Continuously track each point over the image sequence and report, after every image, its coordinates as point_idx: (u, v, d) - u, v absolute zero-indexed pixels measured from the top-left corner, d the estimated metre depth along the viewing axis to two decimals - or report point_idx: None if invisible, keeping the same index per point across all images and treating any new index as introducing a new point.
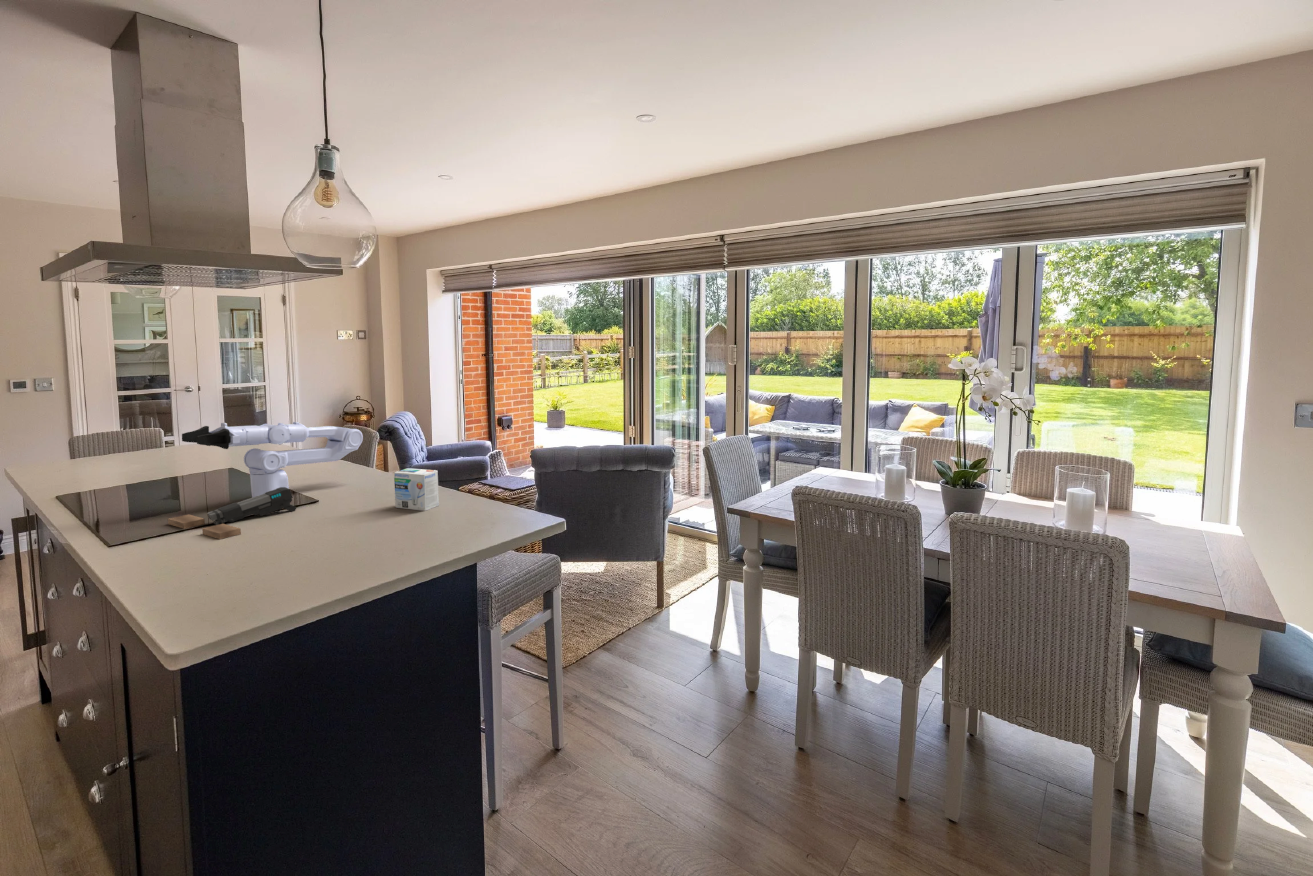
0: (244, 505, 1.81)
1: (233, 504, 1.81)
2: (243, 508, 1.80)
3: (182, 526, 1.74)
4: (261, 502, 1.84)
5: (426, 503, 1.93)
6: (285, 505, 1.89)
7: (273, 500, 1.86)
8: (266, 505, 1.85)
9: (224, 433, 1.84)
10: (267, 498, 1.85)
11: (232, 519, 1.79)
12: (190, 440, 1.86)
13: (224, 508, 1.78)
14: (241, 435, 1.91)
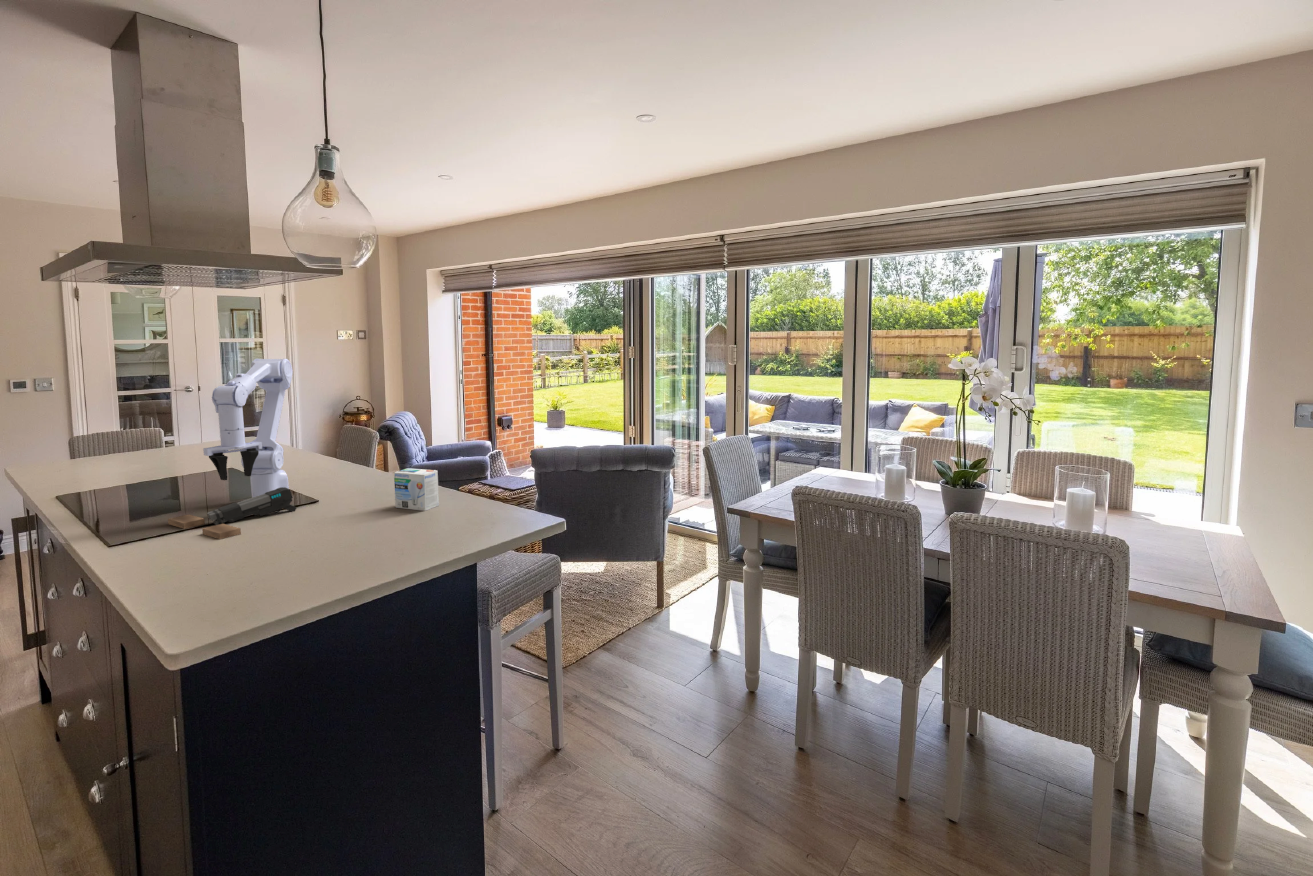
0: (244, 505, 1.81)
1: (233, 504, 1.81)
2: (243, 508, 1.80)
3: (182, 526, 1.74)
4: (261, 502, 1.83)
5: (426, 503, 1.93)
6: (285, 505, 1.89)
7: (273, 500, 1.86)
8: (266, 505, 1.85)
9: None
10: (267, 498, 1.84)
11: (232, 519, 1.79)
12: None
13: (224, 508, 1.78)
14: None
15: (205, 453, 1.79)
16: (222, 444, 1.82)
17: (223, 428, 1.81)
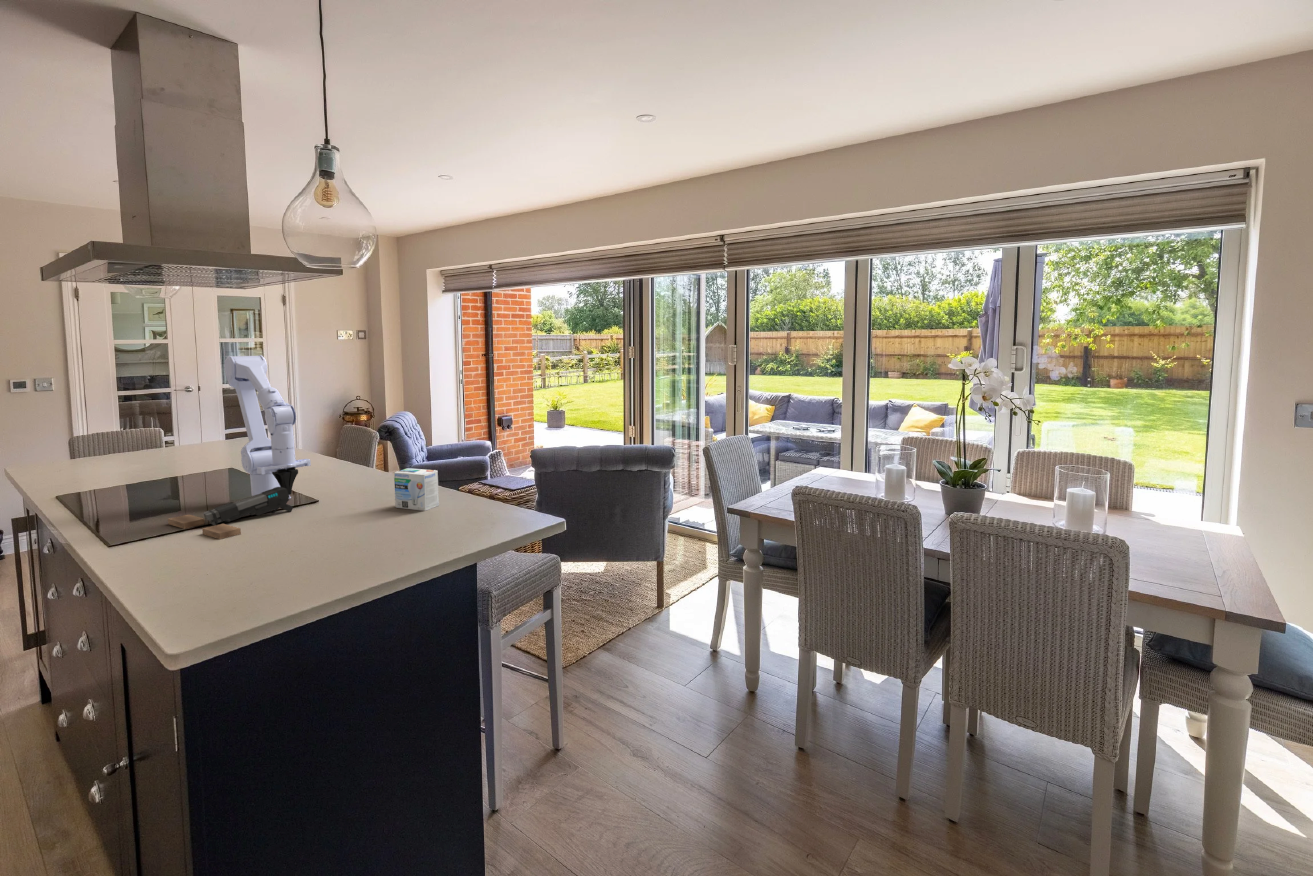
0: (241, 505, 1.80)
1: (229, 504, 1.80)
2: (240, 508, 1.80)
3: (182, 526, 1.74)
4: (258, 502, 1.83)
5: (426, 503, 1.93)
6: (282, 505, 1.88)
7: (270, 500, 1.85)
8: (263, 505, 1.85)
9: None
10: (264, 498, 1.84)
11: (228, 519, 1.78)
12: None
13: (220, 508, 1.78)
14: None
15: (259, 472, 1.85)
16: (274, 462, 1.88)
17: (284, 447, 1.88)
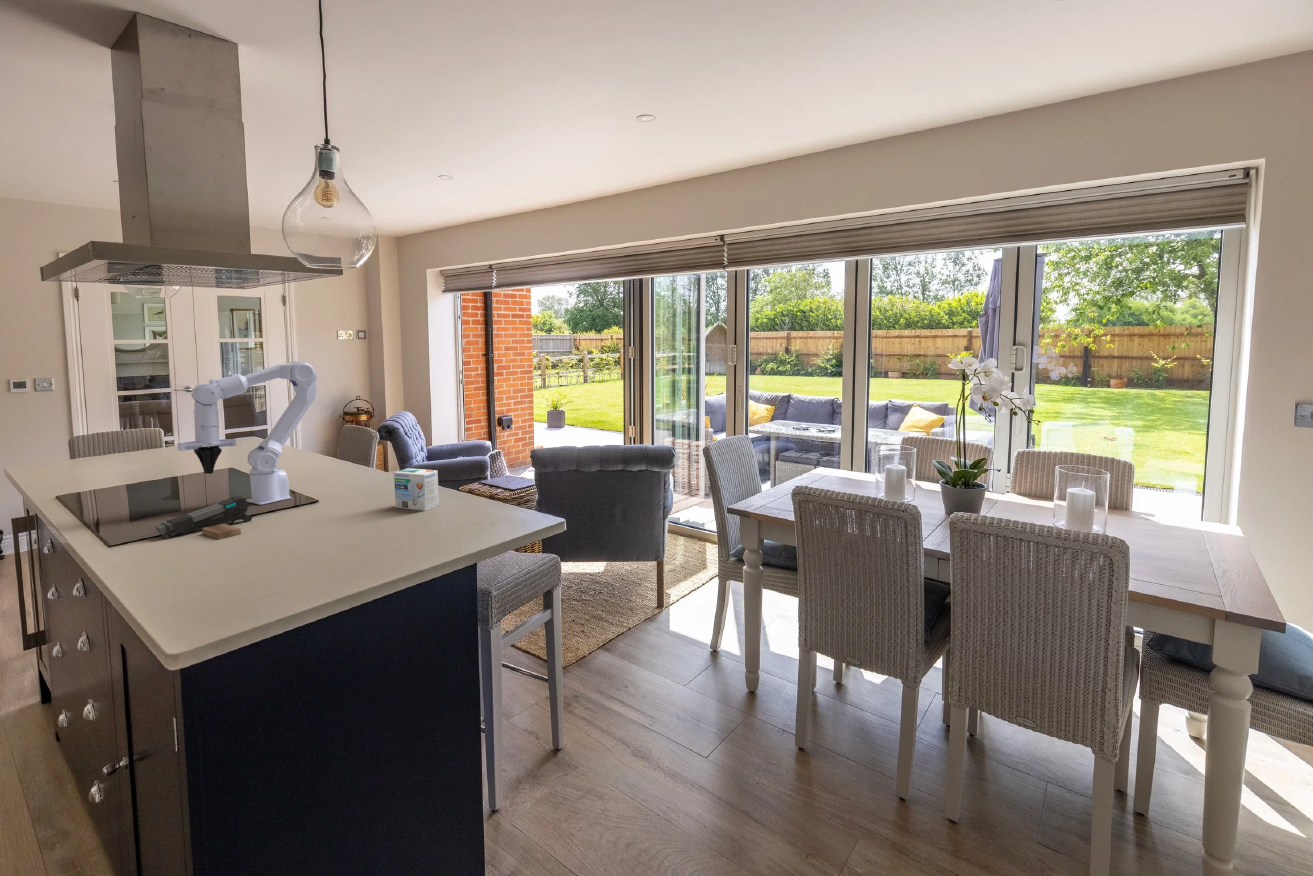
0: (196, 516, 1.70)
1: (184, 515, 1.69)
2: (195, 519, 1.69)
3: None
4: (215, 512, 1.73)
5: (426, 503, 1.93)
6: (240, 515, 1.78)
7: (227, 510, 1.75)
8: (220, 516, 1.75)
9: None
10: (221, 508, 1.74)
11: (183, 531, 1.68)
12: None
13: (174, 520, 1.67)
14: None
15: (179, 448, 1.84)
16: (196, 440, 1.88)
17: None
